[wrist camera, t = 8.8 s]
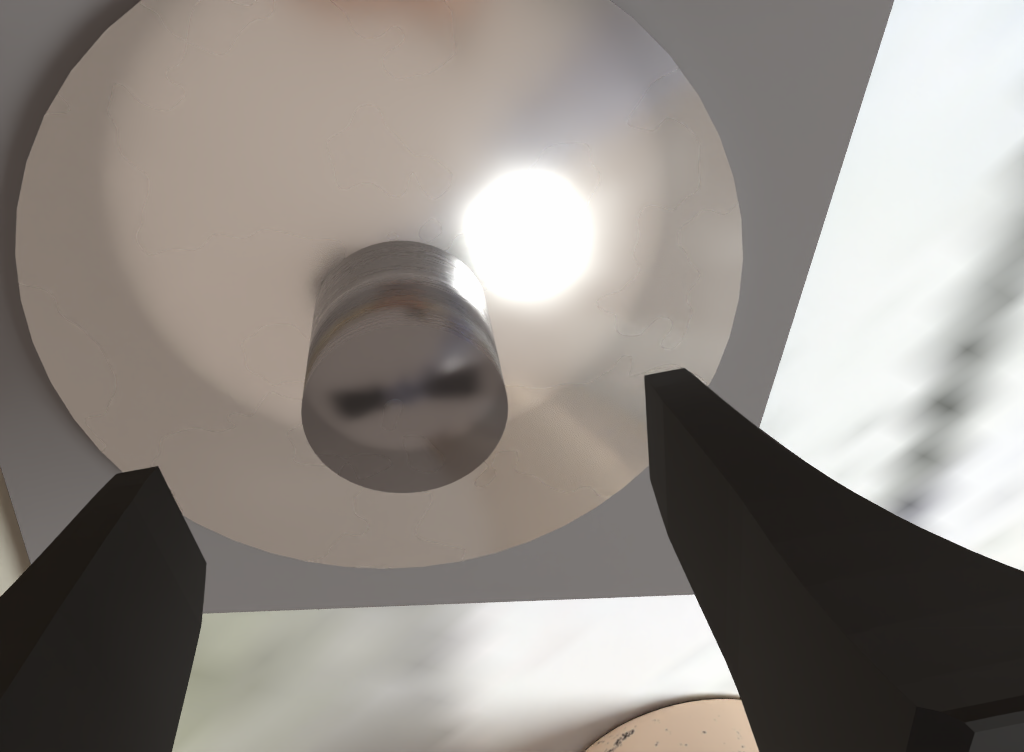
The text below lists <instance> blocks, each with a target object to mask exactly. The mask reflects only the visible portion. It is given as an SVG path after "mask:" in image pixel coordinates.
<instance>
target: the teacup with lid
mask: <svg viewBox="0 0 1024 752" xmlns="http://www.w3.org/2000/svg"><path fill="white" fill-rule="evenodd" d="M585 752H759V750H758V747H757V744H756V741H755V738H754V735H753V733H752V730H751V727H750V724H749V721H748V718H747V715H746V712H745V710H744V707H743V704H742V701H741V700H737V699H710V700H700V701H693V702H687V703H682V704H677V705H673V706H669V707H665V708H662V709H659V710H656V711H653V712H650V713H647V714H645V715H642V716H639V717H637V718H635V719H633V720H631V721H628V722H626V723H625V724H623V725H621V726H619V727H617V728H615V729H614V730H612V731H611V732H609V733H607V734H606V735H605V736H603V737H602V738H600V739H599V740H598V741H596V742H595V743H594V744H593V745H592V746H590V747H589V748H588V749H587V750H586V751H585Z"/></svg>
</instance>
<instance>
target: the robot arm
mask: <svg viewBox="0 0 1024 752" xmlns="http://www.w3.org/2000/svg"><path fill="white" fill-rule="evenodd" d="M644 383H645V401H646V419H647V438H648V456H649V474H650V481H651V485H652V488H653V491H654V494H655V497H656V501H657V504H658V507H659V510H660V513H661V516H662V519H663V522H664V525H665V529H666V532H667V535H668V537H669V540H670V542H671V544H672V546H673V548H674V551H675V553H676V555H677V557H678V559H679V562H680V564H681V566H682V568H683V570H684V573H685V575H686V577H687V579H688V581H689V583H690V586H691V588H692V590H693V592H694V594H695V596H696V598H697V601H698V603H699V605H700V607H701V609H702V611H703V613H704V616H705V618H706V620H707V622H708V624H709V626H710V628H711V631H712V633H713V635H714V637H715V639H716V641H717V643H718V646H719V648H720V650H721V652H722V654H723V656H724V658H725V661H726V663H727V665H728V668H729V670H730V673H731V675H732V678H733V680H734V682H735V685H736V687H737V690H738V692H739V695H740V698H741V701H742V704H743V707H744V710H745V712H746V715H747V718H748V721H749V724H750V727H751V730H752V733H753V735H754V738H755V741H756V744H757V747H758V750H759V752H1024V571H1021V570H1018V569H1016V568H1013V567H1010V566H1007V565H1005V564H1002V563H1000V562H998V561H995V560H993V559H990V558H988V557H985V556H983V555H980V554H978V553H975V552H973V551H971V550H968V549H966V548H964V547H962V546H960V545H957V544H955V543H953V542H951V541H949V540H946V539H944V538H942V537H940V536H938V535H935V534H933V533H931V532H929V531H927V530H924V529H922V528H920V527H918V526H916V525H914V524H912V523H910V522H908V521H906V520H904V519H902V518H900V517H898V516H896V515H894V514H893V513H891V512H889V511H887V510H885V509H883V508H882V507H880V506H878V505H876V504H874V503H872V502H871V501H869V500H867V499H865V498H863V497H862V496H860V495H858V494H856V493H854V492H853V491H851V490H849V489H848V488H846V487H844V486H843V485H841V484H839V483H838V482H836V481H834V480H833V479H831V478H830V477H828V476H826V475H825V474H823V473H822V472H820V471H819V470H817V469H816V468H814V467H813V466H811V465H810V464H808V463H807V462H805V461H804V460H802V459H801V458H799V457H798V456H797V455H795V454H794V453H792V452H791V451H789V450H788V449H787V448H785V447H784V446H783V445H781V444H780V443H779V442H777V441H776V440H775V439H773V438H772V437H771V436H769V435H768V434H767V433H765V432H764V431H763V430H761V429H760V428H758V427H757V426H756V425H755V424H753V423H752V422H751V421H749V420H748V419H747V418H746V417H744V416H743V415H742V414H741V413H739V412H738V411H737V410H736V409H734V408H733V407H732V406H731V405H730V404H728V403H727V402H726V401H725V400H723V399H722V398H721V397H720V396H719V395H717V394H716V393H715V392H714V391H713V390H711V389H710V388H709V387H708V386H707V385H705V384H704V383H703V382H702V381H701V380H700V379H698V378H697V377H696V376H695V375H694V374H692V373H691V372H690V371H688V370H687V369H686V368H681V369H675V370H670V371H665V372H659V373H654V374H649V375H644ZM206 565H207V563H206V561H205V559H204V557H203V555H202V553H201V551H200V549H199V547H198V545H197V543H196V541H195V539H194V537H193V535H192V533H191V531H190V529H189V527H188V525H187V523H186V521H185V519H184V517H183V515H182V513H181V511H180V509H179V507H178V505H177V503H176V501H175V499H174V497H173V495H172V493H171V491H170V489H169V487H168V485H167V483H166V481H165V479H164V477H163V475H162V473H161V471H160V469H159V467H158V466H155V467H149V468H144V469H139V470H133V471H128V472H122V473H117V474H116V475H115V476H114V477H113V478H111V479H110V480H109V481H108V482H107V483H106V484H105V485H104V486H103V487H102V488H101V489H100V490H99V492H98V493H97V494H96V495H95V496H94V497H93V498H92V499H91V500H90V501H89V502H88V503H87V504H86V505H85V507H84V508H83V509H82V510H81V511H80V512H79V513H78V514H77V515H76V516H75V518H74V519H73V520H72V521H71V522H70V523H69V524H68V525H67V526H66V527H65V529H64V530H63V531H62V532H61V533H60V534H59V535H58V536H57V537H56V538H55V539H54V541H53V542H52V543H51V544H50V545H49V546H48V547H47V548H46V549H45V550H44V551H43V552H42V553H41V555H40V556H39V557H38V558H37V559H36V560H35V561H34V562H33V563H32V564H31V565H30V566H29V568H28V569H27V570H26V571H25V572H24V573H23V574H22V575H21V576H20V577H19V578H18V579H17V580H16V581H15V583H14V584H13V585H12V586H11V587H10V588H9V589H8V590H7V591H6V592H5V593H4V594H3V595H2V596H1V597H0V752H172V748H173V744H174V740H175V736H176V732H177V728H178V723H179V719H180V715H181V711H182V707H183V703H184V698H185V694H186V690H187V686H188V682H189V678H190V673H191V669H192V665H193V660H194V656H195V651H196V647H197V643H198V638H199V634H200V629H201V622H202V613H203V604H204V593H205V579H206Z"/></svg>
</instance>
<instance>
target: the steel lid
mask: <svg viewBox="0 0 1024 752" xmlns="http://www.w3.org/2000/svg"><path fill="white" fill-rule="evenodd" d="M15 258H16V266H17V274H18V282H19V290H20V298H21V303H22V306H23V310H24V313H25V317H26V320H27V324H28V327H29V331H30V334H31V338H32V341H33V344H34V346H35V348H36V351H37V353H38V355H39V357H40V360H41V362H42V364H43V366H44V368H45V371H46V373H47V375H48V377H49V380H50V382H51V383H52V385H53V387H54V388H55V390H56V391H57V393H58V395H59V396H60V398H61V399H62V401H63V403H64V404H65V406H66V407H67V409H68V410H69V412H70V414H71V415H72V417H73V418H74V420H75V421H76V422H77V423H78V424H79V426H80V427H81V428H82V429H83V430H84V432H85V433H86V434H87V435H88V437H89V438H90V439H91V440H92V441H93V443H94V444H95V445H96V446H97V447H98V449H99V450H100V451H101V452H102V453H103V454H104V455H105V456H106V457H107V458H109V459H110V460H111V461H112V462H113V463H114V464H115V465H116V466H117V467H118V468H119V469H120V470H121V471H122V472H128V471H133V470H139V469H144V468H149V467H155V466H158V467H159V469H160V471H161V473H162V475H163V477H164V479H165V481H166V483H167V485H168V487H169V489H170V491H171V493H172V495H173V497H174V499H175V501H176V503H177V505H178V507H179V509H180V511H181V513H182V515H183V516H185V517H187V518H188V519H190V520H192V521H193V522H195V523H197V524H199V525H201V526H203V527H205V528H208V529H210V530H212V531H214V532H216V533H219V534H221V535H223V536H225V537H227V538H230V539H232V540H234V541H237V542H240V543H243V544H246V545H249V546H252V547H255V548H258V549H260V550H263V551H266V552H269V553H273V554H277V555H281V556H286V557H290V558H294V559H298V560H303V561H307V562H313V563H320V564H328V565H335V566H342V567H356V568H378V569H390V568H411V567H425V566H432V565H439V564H446V563H454V562H460V561H464V560H468V559H473V558H477V557H481V556H485V555H490V554H494V553H497V552H500V551H503V550H506V549H509V548H512V547H515V546H518V545H521V544H524V543H527V542H530V541H532V540H534V539H536V538H538V537H541V536H543V535H545V534H547V533H550V532H552V531H554V530H556V529H559V528H561V527H563V526H565V525H567V524H568V523H570V522H572V521H574V520H575V519H577V518H579V517H580V516H582V515H584V514H586V513H587V512H589V511H591V510H593V509H594V508H596V507H597V506H599V505H600V504H602V503H603V502H604V501H606V500H607V499H609V498H610V497H611V496H613V495H614V494H615V493H617V492H618V491H620V490H621V489H622V488H624V487H625V486H626V485H627V484H628V483H630V482H631V481H632V480H633V479H634V478H635V477H636V476H637V475H639V474H640V473H641V472H642V471H643V470H644V469H645V468H646V467H648V466H649V456H648V438H647V419H646V401H645V383H644V375H649V374H654V373H659V372H665V371H670V370H675V369H681V368H686V369H687V370H688V371H690V372H691V373H692V374H694V375H695V376H696V377H697V378H698V379H700V380H701V381H702V382H703V383H704V384H705V385H707V386H709V384H710V382H711V380H712V378H713V377H714V375H715V373H716V370H717V368H718V365H719V363H720V360H721V358H722V355H723V353H724V350H725V347H726V345H727V342H728V340H729V337H730V333H731V329H732V325H733V321H734V317H735V313H736V309H737V305H738V301H739V292H740V283H741V273H742V264H743V250H742V223H741V214H740V209H739V204H738V198H737V193H736V187H735V182H734V177H733V174H732V171H731V168H730V165H729V162H728V159H727V156H726V153H725V151H724V148H723V145H722V142H721V139H720V136H719V134H718V132H717V130H716V128H715V126H714V124H713V122H712V120H711V118H710V116H709V115H708V113H707V111H706V109H705V107H704V105H703V103H702V101H701V99H700V97H699V95H698V94H697V92H696V91H695V89H694V88H693V87H692V85H691V84H690V83H689V81H688V80H687V78H686V77H685V76H684V74H683V73H682V72H681V70H680V69H679V67H678V66H677V65H676V63H675V62H674V61H673V59H672V58H671V56H670V55H669V54H668V53H667V52H666V51H665V50H664V49H663V48H662V47H661V46H660V45H659V44H658V43H657V42H656V41H655V40H654V39H653V38H652V37H651V36H650V35H649V34H648V33H647V32H646V31H645V30H644V29H643V28H642V27H641V26H640V25H639V23H638V22H637V21H636V20H635V19H634V18H632V17H631V16H630V15H628V14H627V13H626V12H625V11H623V10H622V9H621V8H619V7H618V6H617V5H615V4H614V3H613V2H611V1H610V0H141V1H140V2H139V3H137V4H136V5H135V6H134V7H133V8H131V9H130V10H129V11H128V12H127V13H126V14H124V15H123V16H122V17H121V18H120V19H118V20H117V21H116V22H115V23H114V24H112V25H111V26H110V27H109V28H108V29H107V30H105V32H104V33H103V34H102V35H101V36H100V38H99V39H98V40H97V41H96V42H95V43H94V45H93V46H92V47H91V48H90V49H89V50H88V52H87V53H86V54H85V55H84V56H83V57H82V59H81V60H80V61H79V62H78V63H77V65H76V66H75V67H74V68H73V69H72V70H71V72H70V73H69V75H68V77H67V78H66V80H65V82H64V83H63V85H62V87H61V88H60V90H59V92H58V94H57V95H56V97H55V99H54V100H53V102H52V104H51V105H50V107H49V109H48V110H47V112H46V114H45V115H44V118H43V120H42V123H41V126H40V128H39V131H38V133H37V136H36V138H35V141H34V144H33V146H32V149H31V151H30V154H29V157H28V159H27V162H26V166H25V171H24V176H23V181H22V186H21V191H20V196H19V201H18V206H17V219H16V247H15Z"/></svg>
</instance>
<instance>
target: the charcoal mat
mask: <svg viewBox="0 0 1024 752" xmlns="http://www.w3.org/2000/svg"><path fill="white" fill-rule="evenodd" d="M140 1H141V0H0V466H1V470H2V473H3V476H4V479H5V483H6V486H7V489H8V492H9V495H10V499H11V502H12V505H13V508H14V512H15V515H16V518H17V521H18V525H19V528H20V531H21V534H22V537H23V541H24V544H25V547H26V550H27V554H28V557H29V560H30V563H31V564H32V563H33V562H34V561H35V560H36V559H37V558H38V557H39V556H40V555H41V553H42V552H43V551H44V550H45V549H46V548H47V547H48V546H49V545H50V544H51V543H52V542H53V541H54V539H55V538H56V537H57V536H58V535H59V534H60V533H61V532H62V531H63V530H64V529H65V527H66V526H67V525H68V524H69V523H70V522H71V521H72V520H73V519H74V518H75V516H76V515H77V514H78V513H79V512H80V511H81V510H82V509H83V508H84V507H85V505H86V504H87V503H88V502H89V501H90V500H91V499H92V498H93V497H94V496H95V495H96V494H97V493H98V492H99V490H100V489H101V488H102V487H103V486H104V485H105V484H106V483H107V482H108V481H109V480H110V479H111V478H113V477H114V476H115V475H116V474H117V473H122V471H121V470H120V469H119V468H118V467H117V466H116V465H115V464H114V463H113V462H112V461H111V460H110V459H109V458H107V457H106V456H105V455H104V454H103V453H102V452H101V451H100V450H99V449H98V447H97V446H96V445H95V444H94V443H93V441H92V440H91V439H90V438H89V437H88V435H87V434H86V433H85V432H84V430H83V429H82V428H81V427H80V426H79V424H78V423H77V422H76V421H75V420H74V418H73V417H72V415H71V414H70V412H69V410H68V409H67V407H66V406H65V404H64V403H63V401H62V399H61V398H60V396H59V395H58V393H57V391H56V390H55V388H54V387H53V385H52V383H51V382H50V380H49V377H48V375H47V373H46V371H45V368H44V366H43V364H42V362H41V360H40V357H39V355H38V353H37V351H36V348H35V346H34V344H33V341H32V338H31V334H30V331H29V327H28V324H27V320H26V317H25V313H24V310H23V306H22V303H21V298H20V290H19V282H18V274H17V266H16V258H15V247H16V219H17V206H18V201H19V196H20V191H21V186H22V181H23V176H24V171H25V166H26V162H27V159H28V157H29V154H30V151H31V149H32V146H33V144H34V141H35V138H36V136H37V133H38V131H39V128H40V126H41V123H42V120H43V118H44V115H45V114H46V112H47V110H48V109H49V107H50V105H51V104H52V102H53V100H54V99H55V97H56V95H57V94H58V92H59V90H60V88H61V87H62V85H63V83H64V82H65V80H66V78H67V77H68V75H69V73H70V72H71V70H72V69H73V68H74V67H75V66H76V65H77V63H78V62H79V61H80V60H81V59H82V57H83V56H84V55H85V54H86V53H87V52H88V50H89V49H90V48H91V47H92V46H93V45H94V43H95V42H96V41H97V40H98V39H99V38H100V36H101V35H102V34H103V33H104V32H105V30H107V29H108V28H109V27H110V26H111V25H112V24H114V23H115V22H116V21H117V20H118V19H120V18H121V17H122V16H123V15H124V14H126V13H127V12H128V11H129V10H130V9H131V8H133V7H134V6H135V5H136V4H137V3H139V2H140ZM610 1H611V2H613V3H614V4H615V5H617V6H618V7H619V8H621V9H622V10H623V11H625V12H626V13H627V14H628V15H630V16H631V17H632V18H634V19H635V20H636V21H637V22H638V23H639V25H640V26H641V27H642V28H643V29H644V30H645V31H646V32H647V33H648V34H649V35H650V36H651V37H652V38H653V39H654V40H655V41H656V42H657V43H658V44H659V45H660V46H661V47H662V48H663V49H664V50H665V51H666V52H667V53H668V54H669V55H670V56H671V58H672V59H673V61H674V62H675V63H676V65H677V66H678V67H679V69H680V70H681V72H682V73H683V74H684V76H685V77H686V78H687V80H688V81H689V83H690V84H691V85H692V87H693V88H694V89H695V91H696V92H697V94H698V95H699V97H700V99H701V101H702V103H703V105H704V107H705V109H706V111H707V113H708V115H709V116H710V118H711V120H712V122H713V124H714V126H715V128H716V130H717V132H718V134H719V136H720V139H721V142H722V145H723V148H724V151H725V153H726V156H727V159H728V162H729V165H730V168H731V171H732V174H733V177H734V182H735V187H736V193H737V198H738V204H739V209H740V214H741V223H742V250H743V264H742V273H741V283H740V292H739V301H738V305H737V309H736V313H735V317H734V321H733V325H732V329H731V333H730V337H729V340H728V342H727V345H726V347H725V350H724V353H723V355H722V358H721V360H720V363H719V365H718V368H717V370H716V373H715V375H714V377H713V378H712V380H711V382H710V384H709V386H708V387H709V388H710V389H711V390H713V391H714V392H715V393H716V394H717V395H719V396H720V397H721V398H722V399H723V400H725V401H726V402H727V403H728V404H730V405H731V406H732V407H733V408H734V409H736V410H737V411H738V412H739V413H741V414H742V415H743V416H744V417H746V418H747V419H748V420H749V421H751V422H752V423H753V424H755V425H756V426H757V427H758V428H759V426H760V423H761V420H762V417H763V414H764V411H765V407H766V404H767V401H768V398H769V395H770V392H771V388H772V385H773V382H774V379H775V376H776V373H777V369H778V366H779V363H780V360H781V357H782V354H783V350H784V347H785V344H786V341H787V338H788V335H789V331H790V328H791V325H792V322H793V319H794V316H795V312H796V309H797V306H798V303H799V300H800V297H801V293H802V290H803V287H804V284H805V281H806V278H807V274H808V271H809V268H810V265H811V262H812V259H813V255H814V252H815V249H816V246H817V243H818V240H819V236H820V233H821V230H822V227H823V224H824V221H825V217H826V214H827V211H828V208H829V205H830V202H831V199H832V195H833V192H834V189H835V186H836V183H837V180H838V176H839V173H840V170H841V167H842V164H843V161H844V157H845V154H846V151H847V148H848V145H849V142H850V138H851V135H852V132H853V129H854V126H855V123H856V119H857V116H858V113H859V110H860V107H861V104H862V100H863V97H864V94H865V91H866V88H867V85H868V81H869V78H870V75H871V72H872V69H873V66H874V62H875V59H876V56H877V53H878V50H879V47H880V43H881V40H882V37H883V34H884V31H885V28H886V24H887V21H888V18H889V15H890V12H891V9H892V5H893V2H894V0H610ZM183 517H184V519H185V521H186V523H187V525H188V527H189V529H190V531H191V533H192V535H193V537H194V539H195V541H196V543H197V545H198V547H199V549H200V551H201V553H202V555H203V557H204V559H205V561H206V563H207V565H206V579H205V593H204V604H203V613H228V612H254V611H280V610H305V609H331V608H357V607H383V606H409V605H434V604H460V603H486V602H512V601H538V600H563V599H589V598H615V597H641V596H667V595H692V594H694V592H693V590H692V588H691V586H690V583H689V581H688V579H687V577H686V575H685V573H684V570H683V568H682V566H681V564H680V562H679V559H678V557H677V555H676V553H675V551H674V548H673V546H672V544H671V542H670V540H669V537H668V535H667V532H666V529H665V525H664V522H663V519H662V516H661V513H660V510H659V507H658V504H657V501H656V497H655V494H654V491H653V488H652V485H651V481H650V474H649V466H648V467H646V468H645V469H644V470H643V471H642V472H641V473H640V474H639V475H637V476H636V477H635V478H634V479H633V480H632V481H631V482H630V483H628V484H627V485H626V486H625V487H624V488H622V489H621V490H620V491H618V492H617V493H615V494H614V495H613V496H611V497H610V498H609V499H607V500H606V501H604V502H603V503H602V504H600V505H599V506H597V507H596V508H594V509H593V510H591V511H589V512H587V513H586V514H584V515H582V516H580V517H579V518H577V519H575V520H574V521H572V522H570V523H568V524H567V525H565V526H563V527H561V528H559V529H556V530H554V531H552V532H550V533H547V534H545V535H543V536H541V537H538V538H536V539H534V540H532V541H530V542H527V543H524V544H521V545H518V546H515V547H512V548H509V549H506V550H503V551H500V552H497V553H494V554H490V555H485V556H481V557H477V558H473V559H468V560H464V561H460V562H454V563H446V564H439V565H432V566H425V567H411V568H390V569H378V568H356V567H342V566H335V565H328V564H320V563H313V562H307V561H303V560H298V559H294V558H290V557H286V556H281V555H277V554H273V553H269V552H266V551H263V550H260V549H258V548H255V547H252V546H249V545H246V544H243V543H240V542H237V541H234V540H232V539H230V538H227V537H225V536H223V535H221V534H219V533H216V532H214V531H212V530H210V529H208V528H205V527H203V526H201V525H199V524H197V523H195V522H193V521H192V520H190V519H188V518H187V517H185V516H183Z"/></svg>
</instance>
